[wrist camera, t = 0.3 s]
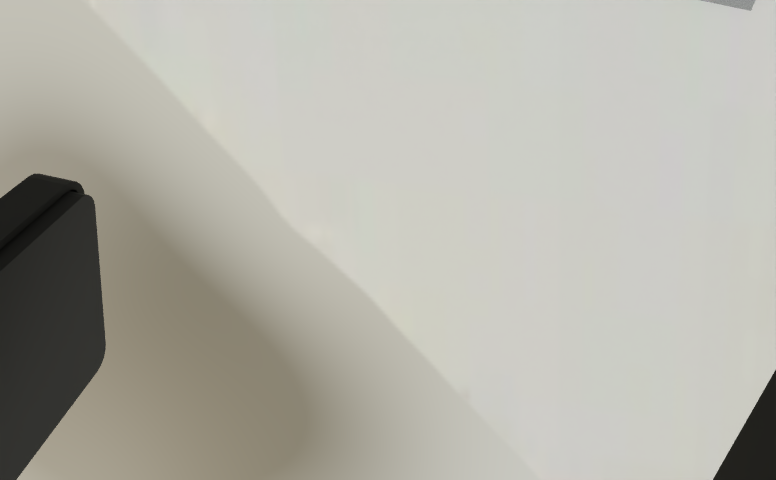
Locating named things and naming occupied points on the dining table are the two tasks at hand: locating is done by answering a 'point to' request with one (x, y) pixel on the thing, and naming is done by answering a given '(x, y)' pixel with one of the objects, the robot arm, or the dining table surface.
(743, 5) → the placemat
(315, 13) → the dining table surface
